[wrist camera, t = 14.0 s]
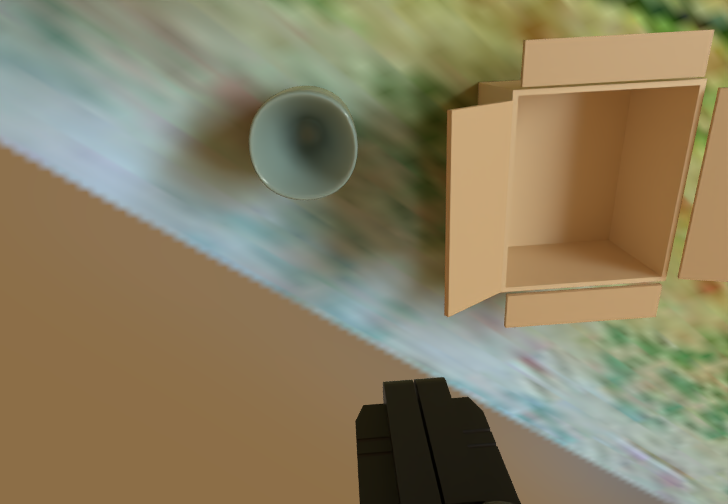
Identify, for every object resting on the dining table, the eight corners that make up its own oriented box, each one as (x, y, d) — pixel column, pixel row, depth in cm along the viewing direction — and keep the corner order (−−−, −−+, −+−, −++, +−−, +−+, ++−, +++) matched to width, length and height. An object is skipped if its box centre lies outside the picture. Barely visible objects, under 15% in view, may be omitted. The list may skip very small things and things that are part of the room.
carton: (480, 42, 42) (518, 40, 33) (642, 33, 42) (723, 29, 33) (471, 279, 50) (499, 328, 41) (606, 270, 50) (662, 316, 42)
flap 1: (513, 100, 34) (508, 100, 34) (452, 110, 30) (447, 110, 31) (501, 291, 39) (497, 290, 40) (448, 317, 36) (444, 315, 36)
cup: (355, 169, 45) (360, 199, 36) (270, 172, 45) (253, 204, 36) (352, 79, 42) (356, 88, 33) (261, 83, 42) (240, 92, 33)
